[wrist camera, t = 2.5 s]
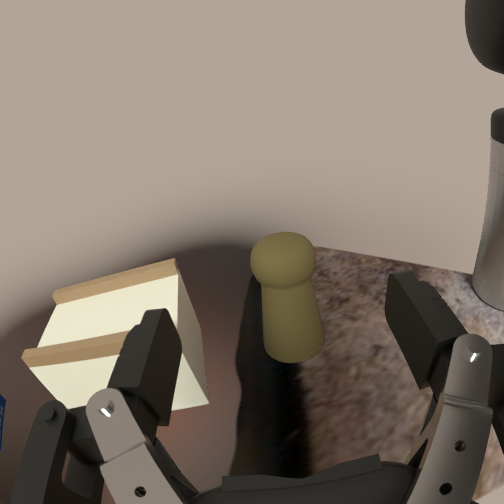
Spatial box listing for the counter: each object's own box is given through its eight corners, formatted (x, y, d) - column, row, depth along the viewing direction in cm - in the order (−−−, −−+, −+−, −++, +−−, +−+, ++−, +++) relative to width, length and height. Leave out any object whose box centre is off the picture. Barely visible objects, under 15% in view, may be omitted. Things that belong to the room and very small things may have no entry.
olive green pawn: (252, 353, 28) (226, 256, 22) (279, 313, 32) (263, 220, 27) (311, 369, 25) (303, 267, 19) (332, 324, 29) (329, 225, 24)
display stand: (201, 329, 32) (174, 258, 27) (209, 403, 23) (171, 330, 19) (92, 351, 31) (54, 290, 26) (77, 419, 22) (21, 357, 18)
